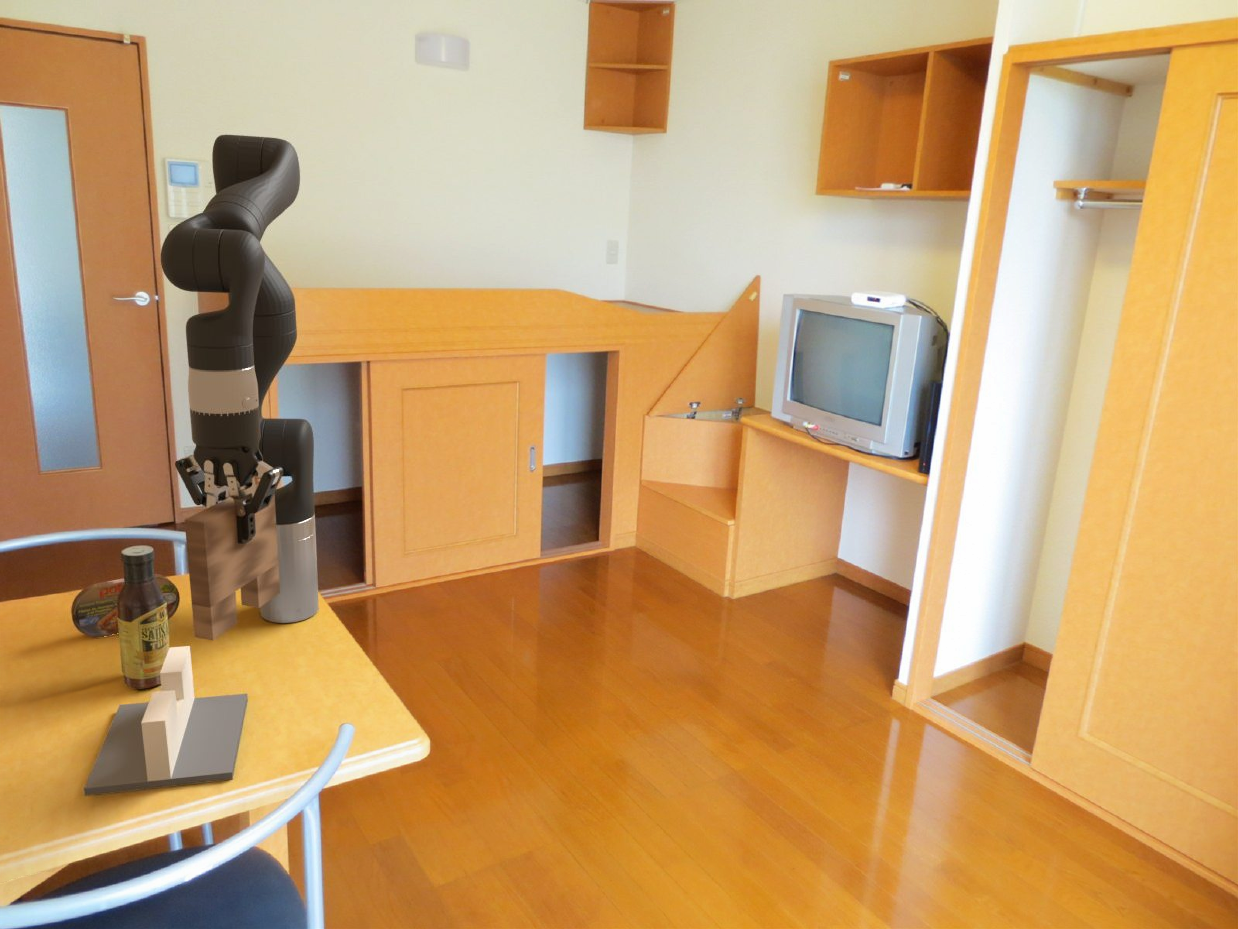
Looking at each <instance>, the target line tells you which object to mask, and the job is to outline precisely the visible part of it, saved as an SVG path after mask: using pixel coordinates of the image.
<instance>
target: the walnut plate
mask: <svg viewBox="0 0 1238 929" xmlns="http://www.w3.org/2000/svg"><path fill="white" fill-rule="evenodd" d="M255 485H256V489H257V487H258V485H259V483H255ZM254 494H255V493H254ZM236 516H238V515H237V513H236V509H235V504H234V499H233V498H231V497H229V496H228V498H227V499H225V500H223V501H221V502H219V503H217V504H215V505H213V506H211V507H209V508H207V507H206V508H205V509H203V510H202V511H200V512H198V513H195V514H193V515H191V516H189V517H187V518H184V528H185V540H186V541H185V543H186V552H187V564H188V575H189V587H190V588H189V589H190V598H191V600H190V601H191V609H192V621H193V634H194V638H197V639H201V640H208V641H209V640H210V641H215V640H216V639H218V638H219V637H220V636H221V635H223V634H225V633H226V632H228V631H229V630H230V629H231V628H233V627H234V626H236V625H237V624H239V622H238V608H237V594H236V592H237V591H239V590H240V600H241V601H240V602H241V605H242V606H246V607H253V608H257V609H258V608H259V609H260V607H261V606H262V605H264V604H265V603H266V602H268V601H269V600H271V599H272V598H273V597H275V596H276V595H278V594H279V593H280V583H279V565H278V547H277V529H276V511H275V493H274V495H273V497H272V500H271V502H270V504H269V506H268V507H266V508H264V509H262V510H260V511H259V512H257V513H255V527H256V528H255V529H256V534H255V536H254V537H253V538H252V540H251V541H249V542H247V543H246V544H240V543H238V535H237V521H236Z"/></svg>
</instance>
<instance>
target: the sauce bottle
mask: <svg viewBox="0 0 1238 929" xmlns="http://www.w3.org/2000/svg"><path fill="white" fill-rule="evenodd" d="M120 557H121V560H120V561H121V562H122V564H123V576H124V577H123V578H124V581H125V583H124V585H123V587H122V588H121V591H120V592H119V594H118V597H117V608H118V615H117V619H118V630H119V634H118V640H119V642H118V643H119V650H120V651H119V652H120V664H121V674H122V675H123V682H124V685H126V686H127V687H128V688H131V689H137V690H143V689H150V688H153V687H157V686H159V685H160V686H161V679H160V672H161V669H162V666H163V664H164V661H165V658H166V656H167V653H168V650H169V648H170V647H171V645H170V630H169V628H170V627H169V620H168V616H167V602H166V600H165V598H164V596H163V594H162V592H161V590H160V587H159V585H158V583H157V581H156V578H155V574H156V573H155V564H154V560H155V550H154V548H153V547H152V546H150V545H133V546H130V547H126V548H124V549H122V550H121V552H120Z"/></svg>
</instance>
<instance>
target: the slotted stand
mask: <svg viewBox="0 0 1238 929" xmlns="http://www.w3.org/2000/svg"><path fill="white" fill-rule="evenodd" d="M192 667H193V665H192V654H191V646H190V645H186V646H185V645H184V646H173V647H172V646H170V648H169V650H168V653H167V656H166V658H165V661H164V664H163V666H162V669H161V672H160V679H161V684H160V688H161V691H160V690H159V691H158V690H157V691H152V693H151V696H150V698H149V701H148V702H136V703H126V704H118V708H117V710H116V712H115V715H114V718H113V720H112V721H111V724H110V726H109V728H108V731H107V733H106V736H105V738H104V740H103V742H102V744H101V748H100V750H99V752H98V754H97V757H96V759H95V762H94V764H93V766H92V768H91V771H90V773H89V775H88V778H87V780H86V783H85V785H84V788H83V792H84V796H95V795H104V794H113V793H121V792H122V793H123V792H130V791H131V792H132V791H140V790H141V791H142V790H148V789H159V788H167V787H174V786H177V787H178V786H184V785H193V784H194V785H195V784H201V783H202V784H203V783H212V782H220V781H221V782H222V781H229V780H233V779H234V773H235V770H236V769H235V768H236V764H237V759H238V753H239V747H240V742H241V737H242V731H243V728H244V722H245V716H246V711H247V707H248V701H249V698H248V695H249V694H248V693H239V694H238V693H236V694H226V695H216V696H215V695H214V696H204V697H202V696H201V697H195V689H194V687H195V686H194V678H193V668H192Z"/></svg>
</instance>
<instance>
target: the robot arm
mask: <svg viewBox="0 0 1238 929" xmlns="http://www.w3.org/2000/svg"><path fill="white" fill-rule="evenodd" d="M211 155H212V156H211V157H212V158H211V160H212V164H211V165H212V175H213V182H214V189H215V195H214V196H213V197H212V198H211V199H210V200H209V202H208V203H207V204H206V206H205V208H204V210H203V211H202V212H200V213H197V214H195V215H193V216H192V217H189V218H187V219H185V220H183V221H182V222H180V223H178V224H177V225H175V226H174V227H173V228H172V229H171V230H170V231H169V232H168V234H167V235H166V237H165V238H164V241H163V243H162V246H161V249H160V250H161V251H160V265H161V269H162V272H163V274H164V276H165V277H166V279H167V280H168V282H170V284H172V285H173V286H174V287H176V288H178V289H179V290H182V291H186V292H190V293H191V292H192V293H196V292H197V293H217V294H218V293H221V294H223V293H224V294H227V298H228V305H227V306H226V307H225V308H222V309H219V310H215V311H214V310H213V311H207V312H201V313H197V314H194V315H192V316H190V317H189V318H188V319H187V321H186V324H185V338H186V349H187V362H188V378H187V379H188V380H187V392H188V394H187V395H188V404H189V405H188V406H189V417H190V427H191V429H190V430H191V440H192V443H193V444H194V445H195V447H194V450H193V453H192V454H191V455H188V456H185V457H182V458H180V459H178V460H176V461H175V462H174V466H175V469H176V470H177V472H178V474H179V476H180V478H181V480H182V482H183V484H184V486H185V488H186V489H187V492H188V494H189V495H190V497H191V499H192V501H193V503H194V504H195V505H196V506H201V505H202V506H203V507H205V508H206V509H207V508H209V507H211V506H213V505H215V504H217V503H219V502H221V501H223V500H225V499H227V498H229V496H230V497H231V498H233V499H234V504H235V509H236V513H237V515H238V516H236V521H237V535H238V543H240V544H246V543H247V542H249V541H251V540H252V538H253V537H254V536H255V534H256V529H255V528H256V527H255V513H257V512H259V511H260V510H262V509H264V508H266V507H268V506H269V504H270V502H271V500H272V497H273V495H274V493H275V511H276V529H277V547H278V565H279V583H280V593H279V594H278V595H276V596H275V597H273V598H272V599H271V600H269V601H268V602H266V603H265V604H264V605H262V606H261V607H259V611H260V616H261V617H262V619H264V620H266V621H269V622H271V623H280V624H289V623H290V624H291V623H296V622H300V621H305V620H307V619H310V618H311V617H313V616H314V615H316V614H317V613H318V611H319V609H320V607H319V585H318V584H319V579H318V558H317V535H316V514H315V513H316V512H315V494H314V491H315V490H314V458H315V457H314V456H315V455H314V454H315V452H314V451H315V449H314V448H315V444H314V442H315V440H314V439H315V438H314V431H313V427H312V425H311V423H310V422H309V421H308V420H307V419H304V418H271V417H270V418H269V417H268V418H265V417H263V415H262V414H263V413H262V412H263V411H262V408H263V403H264V400H265V397H266V396H267V393H268V391H269V388H270V387H271V385H272V383H273V381H274V380H275V378H276V376H277V375H278V373H279V372H280V370H282V368H283V366H284V365H285V363H286V362H287V360H288V358H289V357H290V354H291V353H292V351H293V350H294V347H295V346H296V345H295V344H296V342H297V338H298V337H297V336H298V331H297V330H298V328H297V317H296V316H297V314H296V311H297V310H296V300H295V295H294V293H293V291H292V289H291V287H290V284H289V283H288V282H287V280H286V279H285V277H284V275H282V273H281V272H280V270H279V269H278V268H277V266H276V265H275V264H274V262H273V261H272V259H271V258H270V257H269V256H268V255H267V253H266V252H265V250H264V248H263V245H262V244H261V241H262V238H263V236H264V234H265V232H266V230H267V228H268V227H269V226H270V225H271V223H273V222H274V220H276V219H277V218H278V217H279V216H281V215H282V214H283V213H284V212H286V210H287V209H288V208H289V207H290V206H292V205H293V203H295V200H296V199H297V198H298V194H299V191H300V185H301V169H300V161H299V157H298V152H297V150H296V148H295V147H294V145H292V143H291V142H289V141H287V140H286V139H283V138H279V137H270V136H269V137H268V136H267V137H266V136H256V135H255V136H254V135H241V134H240V135H238V134H221V135H218V136H217V137H216V139H215V140H214V143H213V147H212V154H211ZM255 477H257V478H256V479H255ZM282 477H290V478H291V481H289V482H288V483H287V484H286V485H284V486H281V487H278V486H279V484H280V481H281V479H282ZM256 481H257V482H258V484H259V485H258V487H257V489H256ZM254 493H255V494H254Z"/></svg>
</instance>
